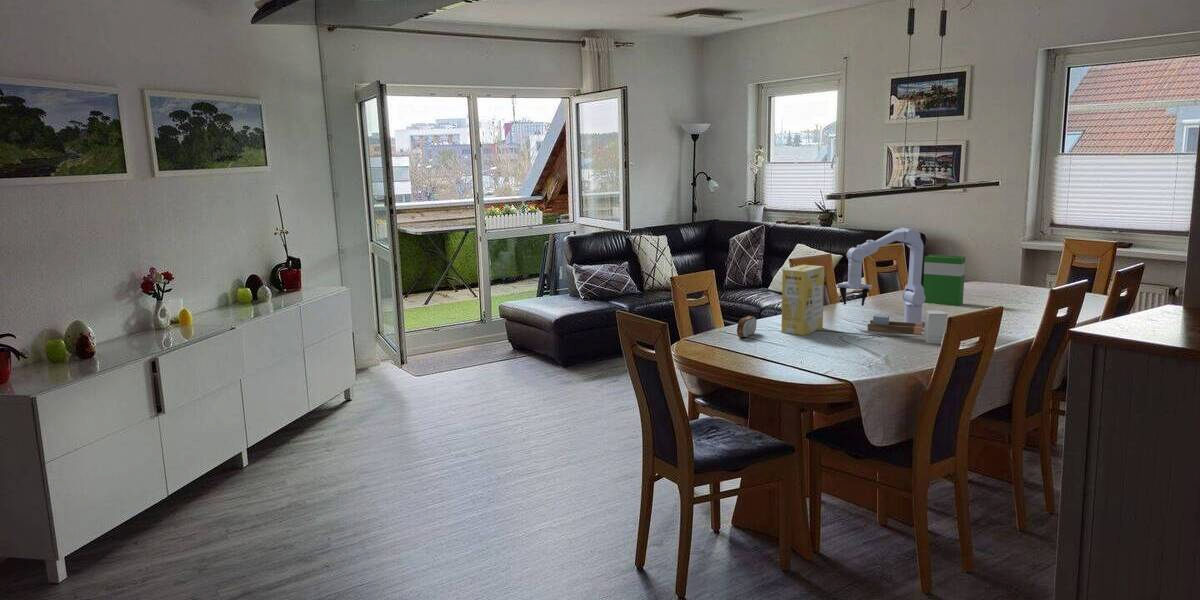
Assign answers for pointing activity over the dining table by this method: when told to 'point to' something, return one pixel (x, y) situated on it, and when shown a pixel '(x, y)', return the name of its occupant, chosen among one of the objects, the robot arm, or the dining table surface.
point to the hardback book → (944, 279)
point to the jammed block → (881, 319)
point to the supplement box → (934, 326)
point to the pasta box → (802, 299)
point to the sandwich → (746, 326)
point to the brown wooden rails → (897, 327)
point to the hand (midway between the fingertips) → (853, 304)
